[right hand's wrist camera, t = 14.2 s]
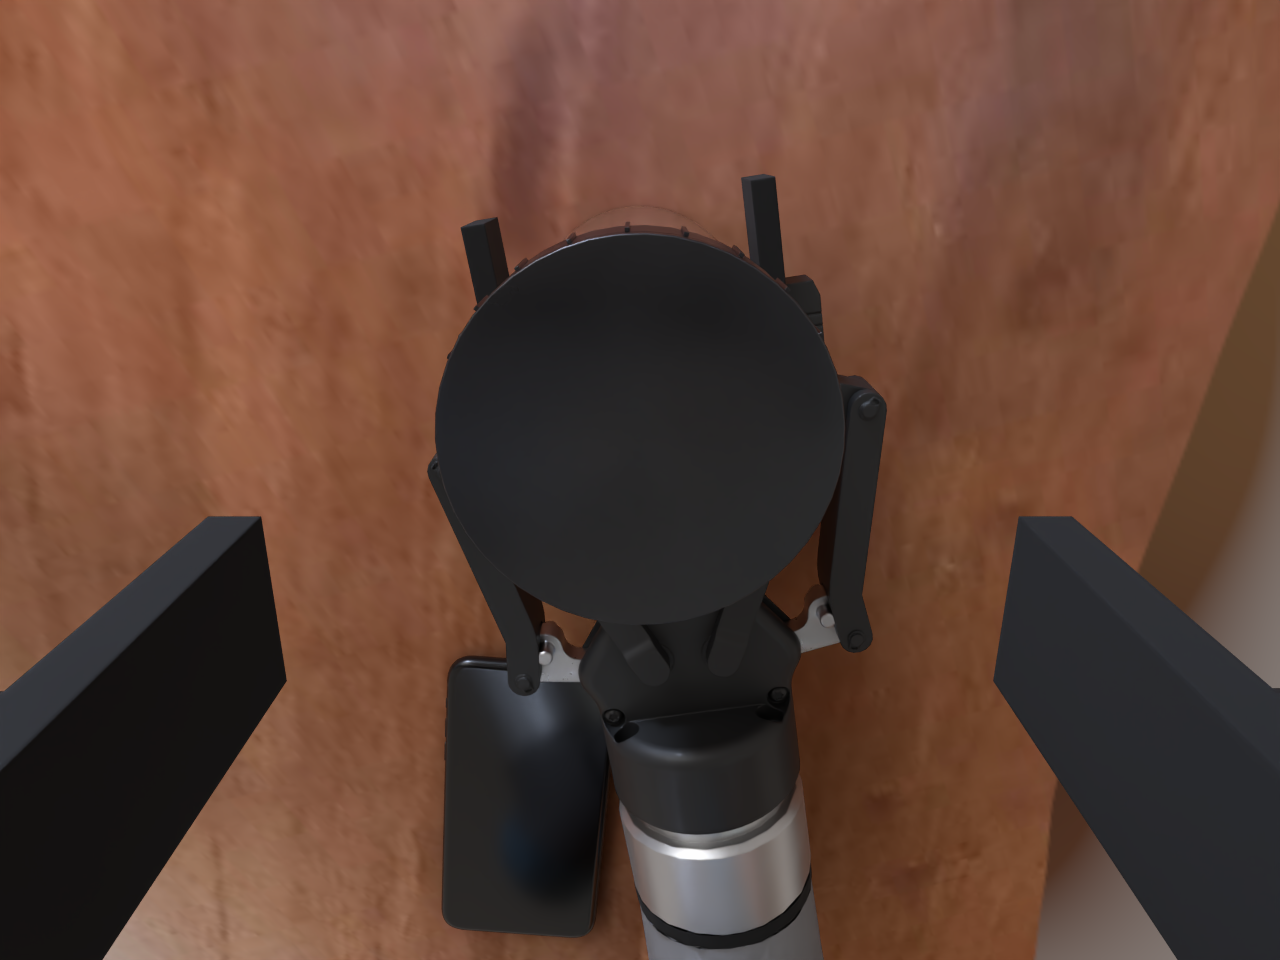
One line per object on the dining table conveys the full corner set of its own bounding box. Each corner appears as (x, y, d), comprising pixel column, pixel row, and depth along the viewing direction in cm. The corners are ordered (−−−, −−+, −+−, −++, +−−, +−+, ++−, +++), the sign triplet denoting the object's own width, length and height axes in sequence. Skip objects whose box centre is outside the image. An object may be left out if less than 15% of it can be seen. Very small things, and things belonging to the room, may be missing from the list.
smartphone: (595, 928, 47) (622, 663, 42) (594, 942, 46) (621, 674, 41) (442, 916, 47) (449, 649, 41) (439, 931, 46) (445, 659, 40)
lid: (397, 507, 23) (375, 541, 21) (533, 151, 20) (521, 151, 18) (727, 637, 24) (734, 681, 22) (899, 321, 21) (925, 339, 20)
